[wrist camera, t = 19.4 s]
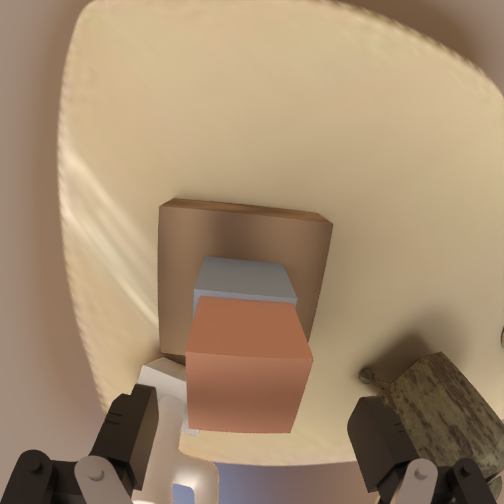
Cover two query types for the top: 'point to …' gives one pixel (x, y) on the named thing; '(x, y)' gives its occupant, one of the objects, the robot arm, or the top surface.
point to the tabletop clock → (445, 416)
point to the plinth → (234, 255)
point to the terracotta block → (245, 366)
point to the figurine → (173, 441)
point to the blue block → (243, 281)
